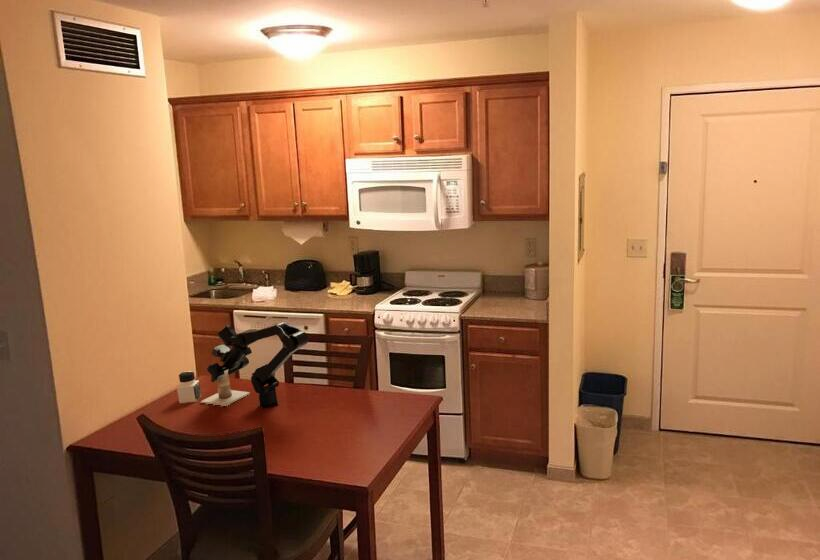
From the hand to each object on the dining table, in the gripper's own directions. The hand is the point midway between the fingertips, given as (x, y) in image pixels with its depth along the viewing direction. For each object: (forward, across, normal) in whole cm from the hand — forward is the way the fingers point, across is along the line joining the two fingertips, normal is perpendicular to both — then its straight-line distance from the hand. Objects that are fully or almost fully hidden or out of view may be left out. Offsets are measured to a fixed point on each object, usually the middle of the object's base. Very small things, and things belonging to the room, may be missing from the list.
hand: (220, 377), depth 274 cm
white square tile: (+5, 0, +7) cm, 9 cm away
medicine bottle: (+16, +5, -3) cm, 18 cm away
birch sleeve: (+5, 0, +7) cm, 8 cm away
